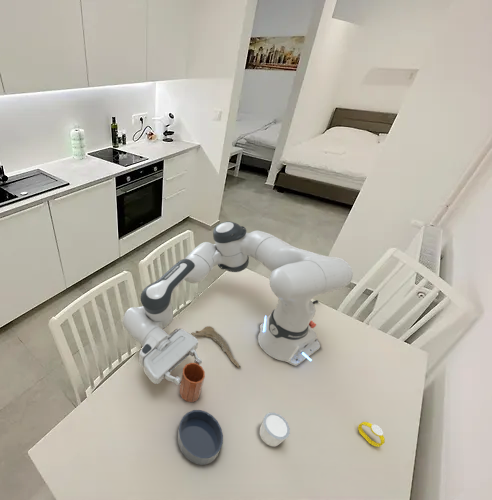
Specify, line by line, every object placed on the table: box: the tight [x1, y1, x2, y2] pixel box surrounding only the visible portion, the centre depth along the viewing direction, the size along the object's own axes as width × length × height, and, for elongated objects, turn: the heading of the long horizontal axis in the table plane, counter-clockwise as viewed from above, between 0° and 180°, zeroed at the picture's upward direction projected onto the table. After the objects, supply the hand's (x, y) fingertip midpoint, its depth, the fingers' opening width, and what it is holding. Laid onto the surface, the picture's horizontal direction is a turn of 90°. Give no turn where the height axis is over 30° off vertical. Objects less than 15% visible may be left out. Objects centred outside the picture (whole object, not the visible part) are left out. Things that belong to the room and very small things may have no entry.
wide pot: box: [177, 409, 224, 466], centre depth 79 cm, size 12×12×6 cm
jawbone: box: [190, 325, 242, 369], centre depth 106 cm, size 9×20×2 cm, turn 49°
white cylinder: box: [259, 412, 291, 447], centre depth 80 cm, size 7×7×7 cm
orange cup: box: [179, 362, 206, 403], centre depth 88 cm, size 6×6×12 cm
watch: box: [357, 421, 386, 448], centre depth 80 cm, size 6×3×6 cm, turn 27°
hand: (190, 372), depth 86 cm, fingers open, 8 cm apart
